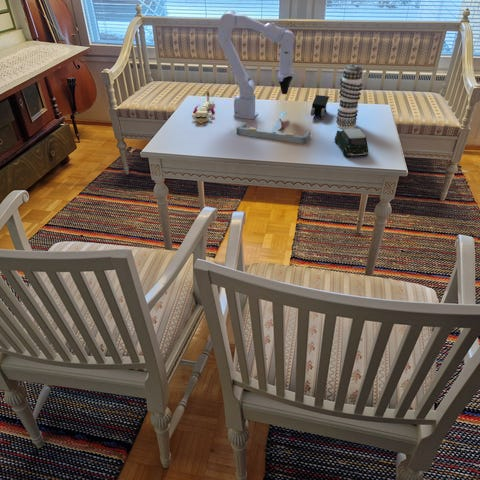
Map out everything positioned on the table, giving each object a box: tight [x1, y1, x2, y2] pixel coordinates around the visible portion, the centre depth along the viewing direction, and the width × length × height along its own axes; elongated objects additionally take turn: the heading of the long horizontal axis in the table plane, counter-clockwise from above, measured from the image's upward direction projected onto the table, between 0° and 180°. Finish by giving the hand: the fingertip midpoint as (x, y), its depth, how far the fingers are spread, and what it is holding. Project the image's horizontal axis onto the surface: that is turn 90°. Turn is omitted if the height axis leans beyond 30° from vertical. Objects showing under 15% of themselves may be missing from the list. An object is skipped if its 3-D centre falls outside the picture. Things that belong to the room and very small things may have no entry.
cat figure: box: [191, 91, 216, 124], centre depth 196 cm, size 10×9×25 cm
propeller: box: [271, 110, 288, 132], centre depth 183 cm, size 4×25×4 cm, turn 161°
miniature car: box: [334, 127, 370, 158], centre depth 163 cm, size 9×18×8 cm, turn 5°
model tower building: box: [335, 63, 364, 130], centre depth 178 cm, size 9×9×25 cm
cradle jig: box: [236, 121, 311, 145], centre depth 177 cm, size 30×8×3 cm, turn 67°
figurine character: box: [310, 94, 330, 121], centre depth 194 cm, size 7×8×15 cm
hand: (284, 93), depth 189 cm, fingers closed
